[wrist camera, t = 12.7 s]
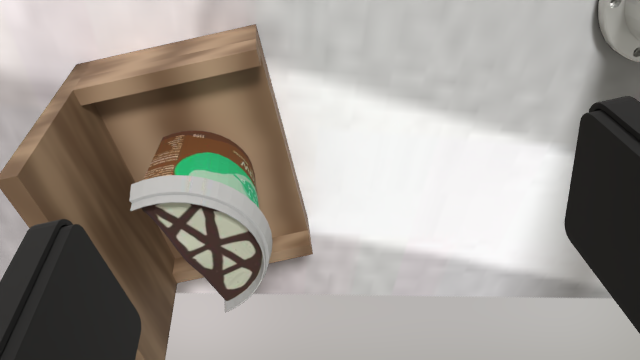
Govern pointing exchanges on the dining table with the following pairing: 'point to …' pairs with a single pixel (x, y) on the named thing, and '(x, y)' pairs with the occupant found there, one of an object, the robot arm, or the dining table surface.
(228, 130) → the low wooden shelf
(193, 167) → the food container
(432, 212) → the dining table surface
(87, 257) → the robot arm
